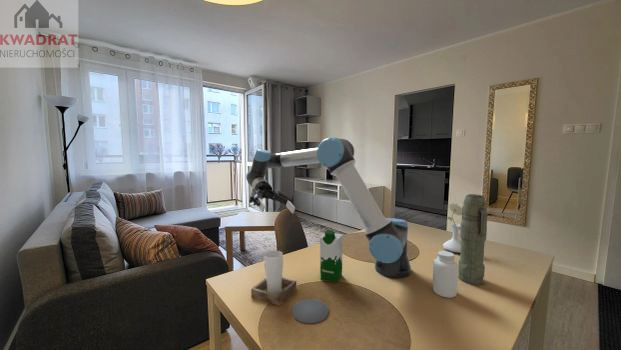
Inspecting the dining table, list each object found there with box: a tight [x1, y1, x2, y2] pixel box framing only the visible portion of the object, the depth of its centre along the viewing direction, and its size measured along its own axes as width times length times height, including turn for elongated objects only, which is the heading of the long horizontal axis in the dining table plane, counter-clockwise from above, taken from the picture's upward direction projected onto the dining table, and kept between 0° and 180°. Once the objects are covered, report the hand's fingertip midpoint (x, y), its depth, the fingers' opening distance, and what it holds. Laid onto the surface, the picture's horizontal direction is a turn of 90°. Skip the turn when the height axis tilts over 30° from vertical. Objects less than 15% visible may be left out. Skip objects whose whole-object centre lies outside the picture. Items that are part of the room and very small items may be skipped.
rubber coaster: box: [291, 298, 329, 325], centre depth 82 cm, size 12×12×1 cm
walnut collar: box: [250, 277, 297, 307], centre depth 93 cm, size 12×12×3 cm
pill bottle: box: [432, 250, 459, 299], centre depth 92 cm, size 8×8×15 cm
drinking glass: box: [264, 250, 284, 295], centre depth 92 cm, size 7×7×15 cm
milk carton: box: [319, 230, 344, 284], centre depth 103 cm, size 9×9×20 cm
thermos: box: [457, 193, 489, 286], centre depth 100 cm, size 9×12×35 cm
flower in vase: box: [442, 202, 462, 254], centre depth 132 cm, size 13×11×25 cm
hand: (279, 209), depth 100 cm, fingers open, 13 cm apart
